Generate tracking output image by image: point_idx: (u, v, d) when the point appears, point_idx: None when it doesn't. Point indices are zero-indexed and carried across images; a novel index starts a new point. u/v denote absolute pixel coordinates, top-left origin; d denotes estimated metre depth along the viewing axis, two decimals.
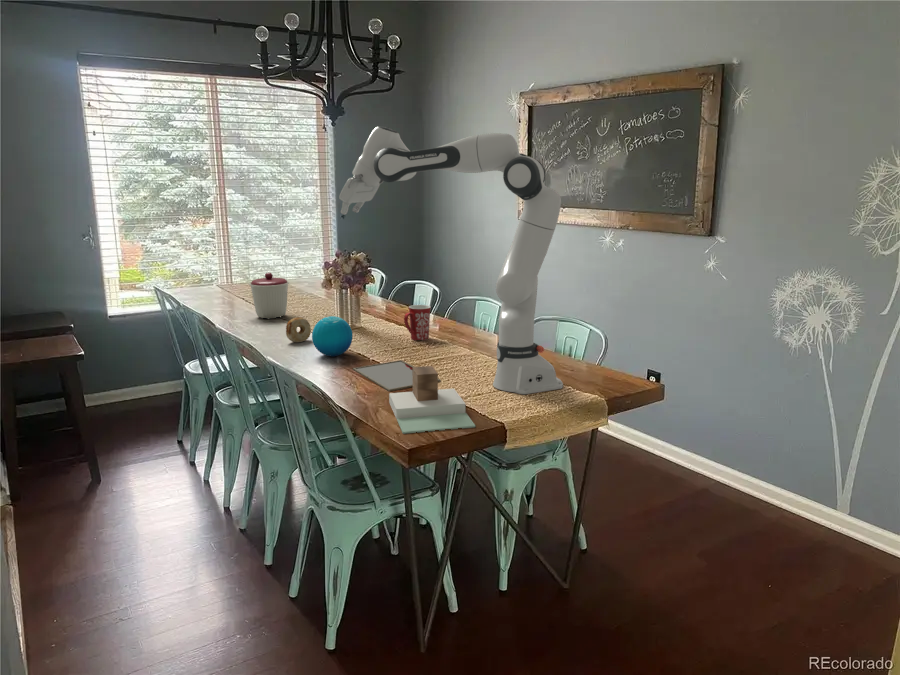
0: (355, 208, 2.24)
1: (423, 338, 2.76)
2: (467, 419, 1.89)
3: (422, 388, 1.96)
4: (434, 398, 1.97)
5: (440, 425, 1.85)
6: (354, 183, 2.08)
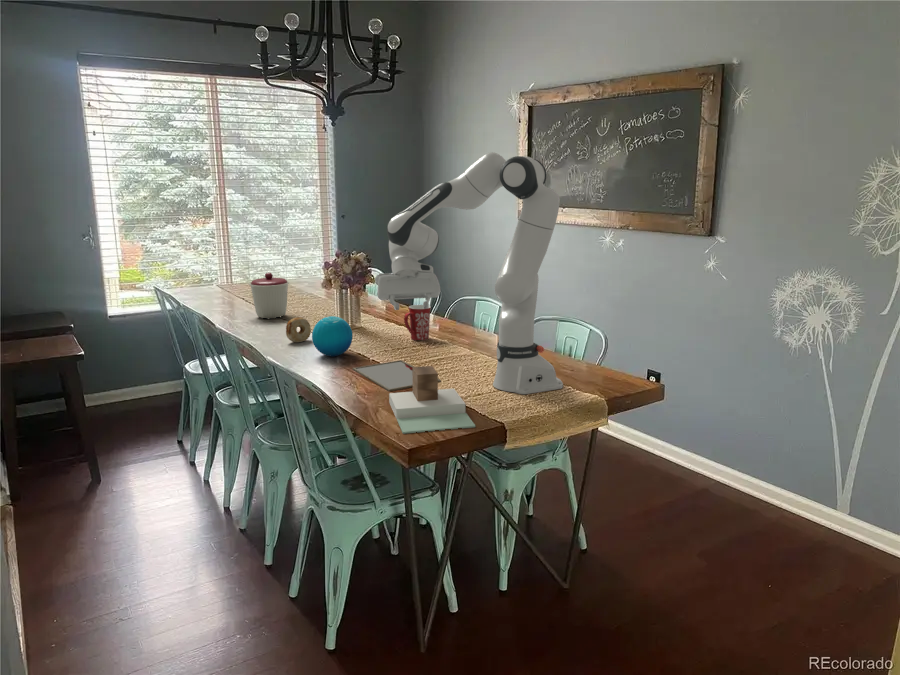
0: (423, 304, 2.16)
1: (423, 338, 2.76)
2: (467, 419, 1.89)
3: (422, 388, 1.96)
4: (434, 398, 1.97)
5: (440, 425, 1.85)
6: None
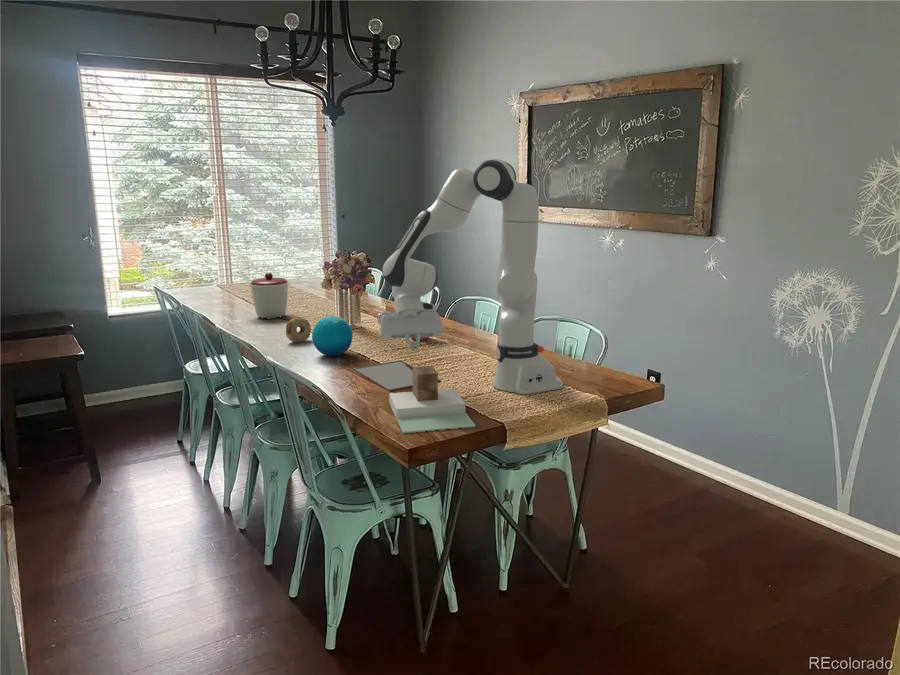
0: None
1: (423, 338, 2.76)
2: (467, 419, 1.89)
3: (422, 388, 1.96)
4: (434, 398, 1.97)
5: (440, 425, 1.85)
6: (382, 317, 2.17)
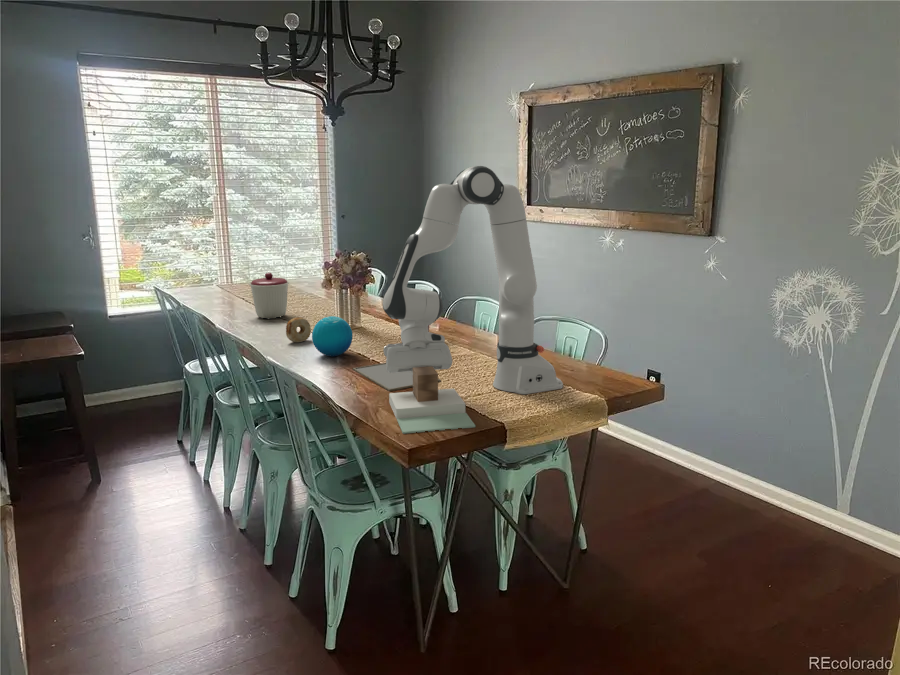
0: None
1: None
2: (467, 419, 1.89)
3: (422, 389, 1.95)
4: (434, 399, 1.97)
5: (440, 425, 1.85)
6: (388, 350, 2.07)
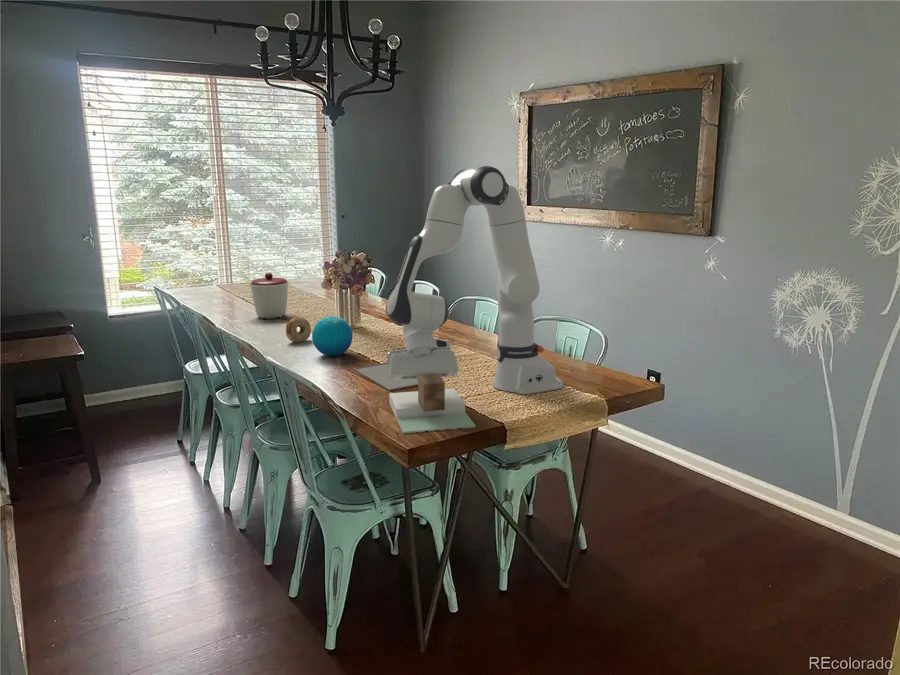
0: None
1: None
2: (467, 419, 1.89)
3: (428, 398, 1.88)
4: (441, 408, 1.89)
5: (440, 425, 1.85)
6: None
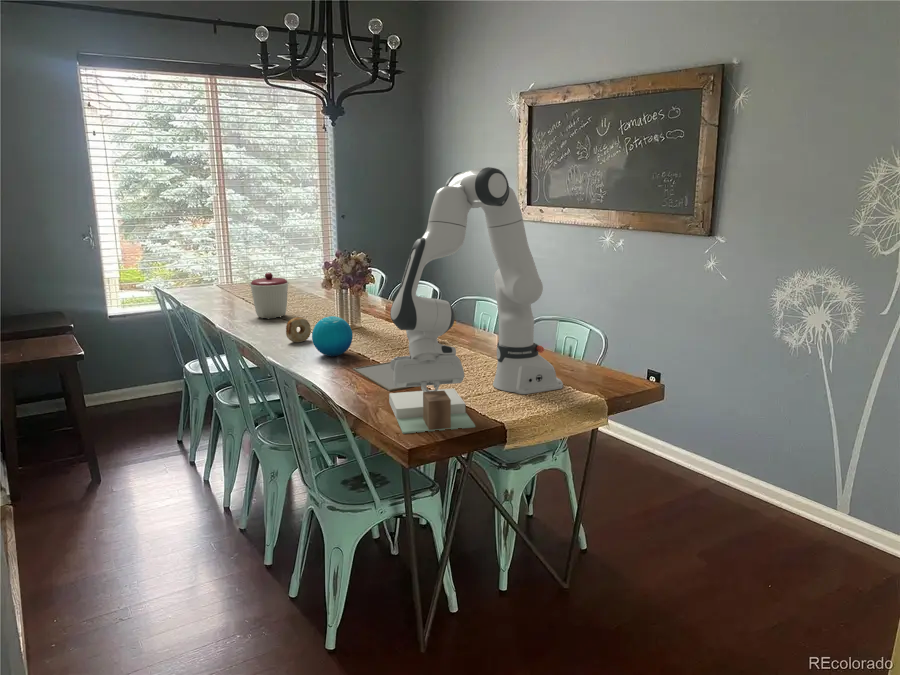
0: None
1: None
2: (467, 419, 1.89)
3: None
4: None
5: None
6: (395, 363, 1.93)
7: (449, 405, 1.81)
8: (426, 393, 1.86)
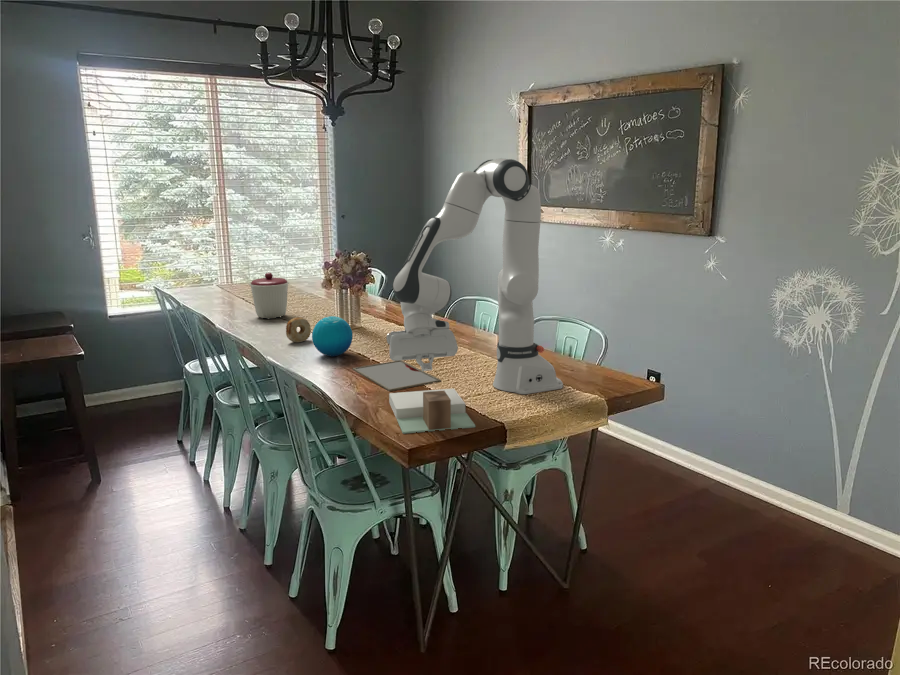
0: None
1: None
2: (467, 419, 1.89)
3: None
4: None
5: None
6: (391, 337, 2.00)
7: (449, 405, 1.81)
8: (426, 393, 1.86)
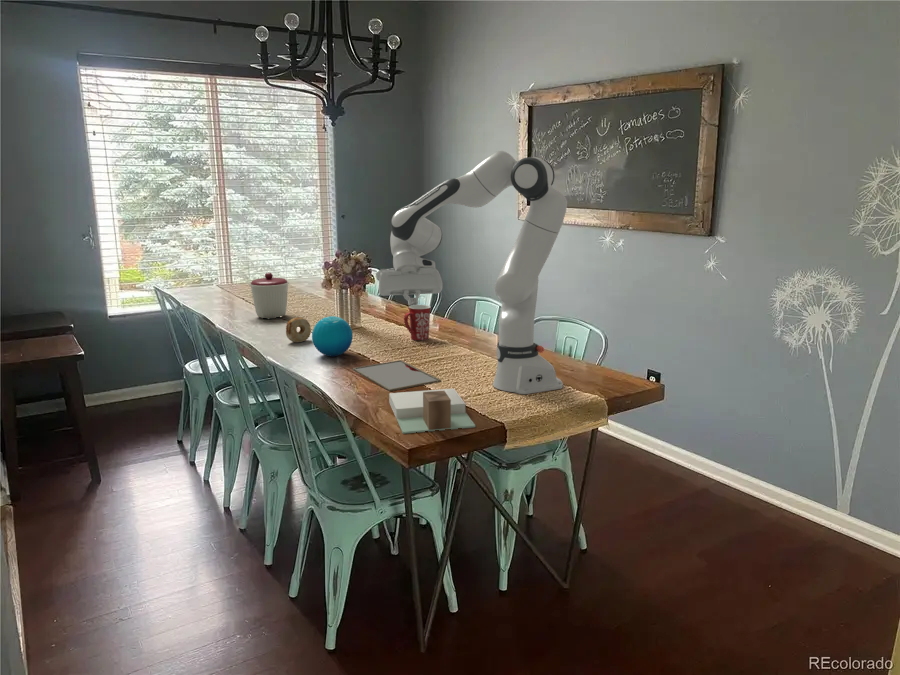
0: None
1: (423, 338, 2.76)
2: (467, 419, 1.89)
3: None
4: None
5: None
6: None
7: (449, 405, 1.81)
8: (426, 393, 1.86)
